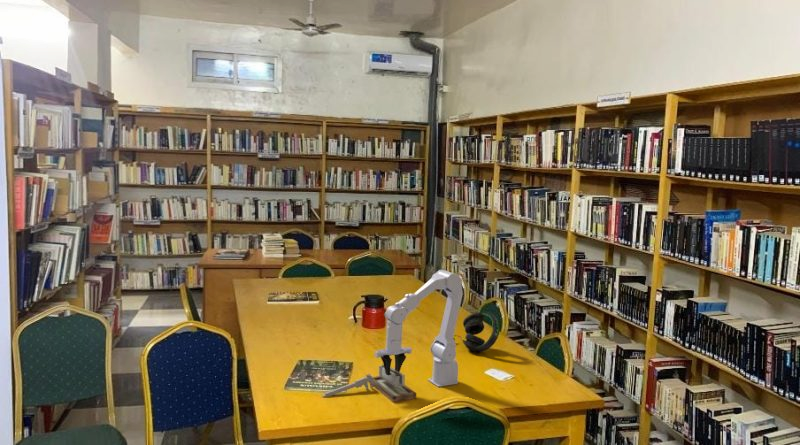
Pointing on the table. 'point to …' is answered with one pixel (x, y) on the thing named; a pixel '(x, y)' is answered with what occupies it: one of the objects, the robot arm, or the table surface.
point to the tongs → (392, 376)
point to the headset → (479, 331)
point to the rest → (393, 390)
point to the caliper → (352, 385)
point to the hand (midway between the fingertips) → (392, 373)
